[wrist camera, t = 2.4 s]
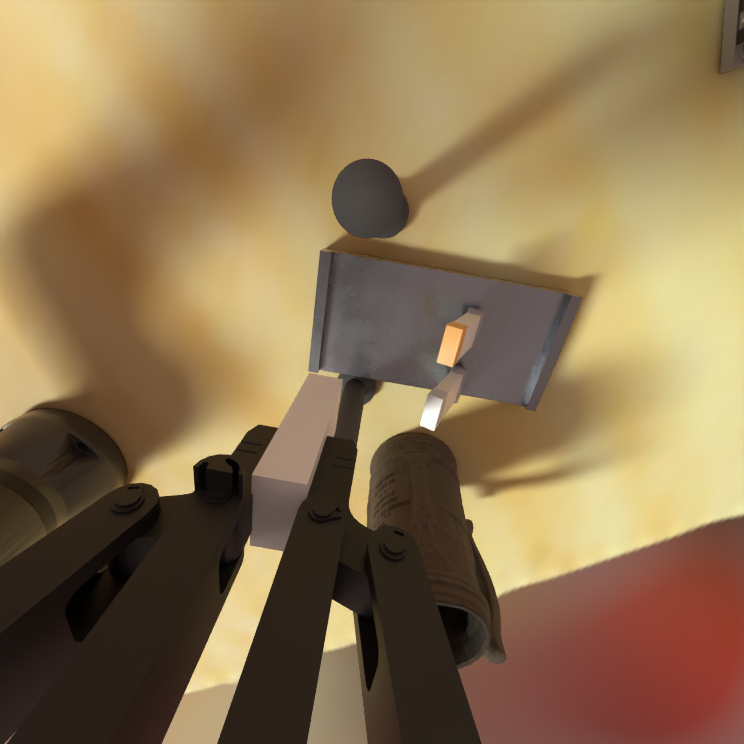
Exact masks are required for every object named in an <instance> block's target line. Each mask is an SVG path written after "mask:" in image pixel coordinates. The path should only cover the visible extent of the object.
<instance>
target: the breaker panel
mask: <svg viewBox="0 0 744 744" xmlns="http://www.w3.org/2000/svg"><path fill="white" fill-rule="evenodd" d="M582 299H583V298H582V297H580V296H578V295H575V294H573V293H570V292H567V291H562V290H556V289H550V288H545V287H539V286H534V285H528V284H523V283H517V282H512V281H506V280H501V279H495V278H489V277H484V276H478V275H473V274H467V273H462V272H456V271H451V270H445V269H439V268H434V267H428V266H423V265H417V264H412V263H406V262H401V261H395V260H390V259H384V258H378V257H373V256H367V255H362V254H356V253H351V252H345V251H340V250H334V249H328V248H325V249H322V250H320V258H319V268H318V278H317V288H316V299H315V309H314V319H313V330H312V340H311V350H310V360H309V371H310V372H315V373H318V372H319V370H323V371H329V372H335V373H340V374H346V375H352V376H357V377H363V378H369V379H375V380H380V381H386V382H392V383H397V384H403V385H409V386H415V387H420V388H426V389H432V390H433V389H434V388H436V386H437V385H438V384H439V383H440V382H441V381H442V380H443V379H444V378H445V377H446V376H447V375H448V374H449V373H450V370H451V367H449V366H446V365H443V364H440V363H437V359H438V355H439V351H440V347H441V344H442V340H443V336H444V332H445V328H446V325H447V324H449V323H450V322H452V321H453V322H454V321H455V320H457V319H458V318H460V317H461V316H463V315H465V314H466V313H467V310H468V308H469V307H473V308H478V309H482V310H484V311H485V315H484V319H483V322H482V325H481V328H480V332H479V335H478V338H477V341H476V345H475V348H474V349H469V350H468V351H467V352H466V353H465V354H464V355H463V356H462V357H461V358H460V359H459V360H458V362H457V363H456V364H455V365H459V366H463V367H465V368H466V369H467V374H466V377H465V380H464V384H463V387H462V390H461V393H460V395H466V396H472V397H477V398H483V399H489V400H495V401H500V402H506V403H512V404H517V405H523V406H524V407H525V409H527V410H533V411H535V410H536V408H537V406H538V403H539V401H540V398H541V396H542V394H543V391H544V389H545V387H546V384H547V382H548V379H549V377H550V375H551V372H552V370H553V367H554V365H555V363H556V360H557V358H558V356H559V353H560V351H561V348H562V346H563V344H564V341H565V339H566V337H567V334H568V332H569V329H570V327H571V325H572V322H573V320H574V318H575V315H576V313H577V310H578V308H579V306H580V303H581V301H582Z"/></svg>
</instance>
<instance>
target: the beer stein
mask: <svg viewBox="0 0 744 744" xmlns="http://www.w3.org/2000/svg"><path fill="white" fill-rule="evenodd" d="M370 473H371V478H370V489H369V497H368V505H367V528H369V529H371V530H373V531H375V530H376V529H378V528H379V527H384V526H395V527H399V528H401V529H403V530H405V531H407V532H408V533H409V534H410V535H411V536H412V537H413V538H414V540H415V541H416V543H417V545H418V548H419V551H420V554H421V557H422V560H423V563H424V566H425V569H426V572H427V576H428V579H429V582H430V585H431V588H432V591H433V594H434V597H435V600H436V604H437V607H438V610H439V613H440V616H441V619H442V622H443V625H444V628H445V632H446V635H447V638H448V641H449V644H450V647H451V650H452V653H453V656H454V660H455V663H456V666H457V669H460V668H463V667H466V666H468V665H471V664H472V663H473V662H475V661H476V660H478V659H479V658H480V657H481V656H482V655H483V654H484V657H485V659H486V660H487V661H488V662H491V663H495V664H500V663H504V662H505V660H506V654H505V651H504V647H503V643H502V637H501V619H500V608H499V603H498V600H497V596H496V592H495V589H494V586H493V583H492V580H491V577H490V575H489V572H488V570H487V568H486V566H485V563H484V561H483V559H482V557H481V555H480V553H479V551H478V549H477V547H476V544H475V542H474V540H473V537H472V533H473V523H472V521H471V520H469V519H465V515H464V510H463V506H462V498H461V493H460V486H459V479H458V475H457V464H456V460H455V457H454V455H453V453H452V452H451V450H450V449H449V448H448V446H447V445H446V444H444V443H443V442H442V441H440V440H438V439H436V438H435V437H432V436H429V435H425V434H419V433H410V434H403V435H398V436H396V437H393V438H391V439H389V440H387V441H386V442H385V443H383V444H382V445H381V446H380V447H379V448H378V449H377V451H376V452H375V454H374V456H373V458H372V461H371V465H370Z"/></svg>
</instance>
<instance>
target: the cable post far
mask: <svg viewBox="0 0 744 744" xmlns="http://www.w3.org/2000/svg"><path fill="white" fill-rule="evenodd" d="M338 378H339V379H343V382H342V389H341V396H340V403H339V410H338V417H337V424H336V431H335V434H334V437H337V438H342V439H348V440H354V443H355V445H356V447H357V441H358V435H359V429H360V422H361V416H362V410H363V405H364V404H366V403H368V402H369V401H370V400H371V399H372V397H373V396H374V393H375V380H374V379H369V378H363V377H357V376H352V375H346V374H340V375H339V376H338Z"/></svg>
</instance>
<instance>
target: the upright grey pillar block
mask: <svg viewBox="0 0 744 744" xmlns="http://www.w3.org/2000/svg"><path fill="white" fill-rule="evenodd" d="M742 66H744V0H725V12H724V26H723V40H722V54H721V68H720V74H722V73H725V72H727V71H730V70H733V69H736V68H739V67H742Z"/></svg>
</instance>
